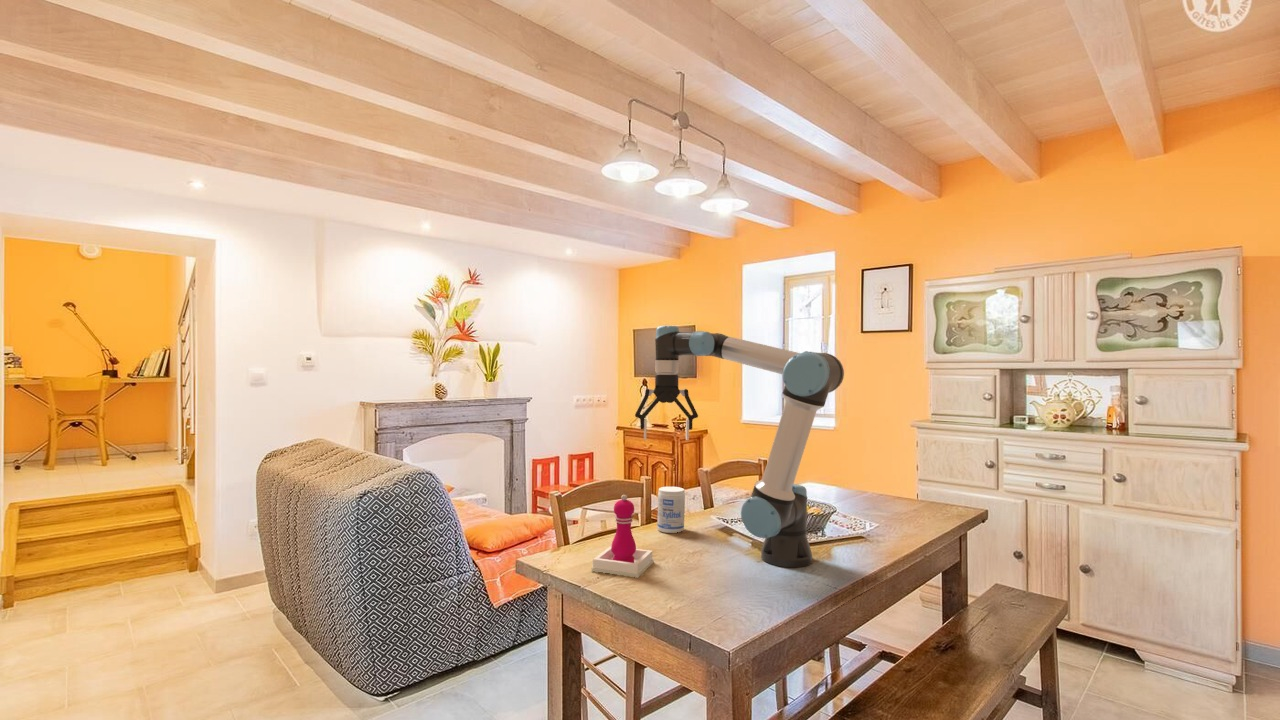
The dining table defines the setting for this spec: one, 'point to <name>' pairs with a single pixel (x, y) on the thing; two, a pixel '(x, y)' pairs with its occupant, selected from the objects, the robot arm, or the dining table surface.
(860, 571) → the dining table surface
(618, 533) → the pepper mill
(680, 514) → the supplement tub
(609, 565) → the ceramic tray
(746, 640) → the dining table surface
